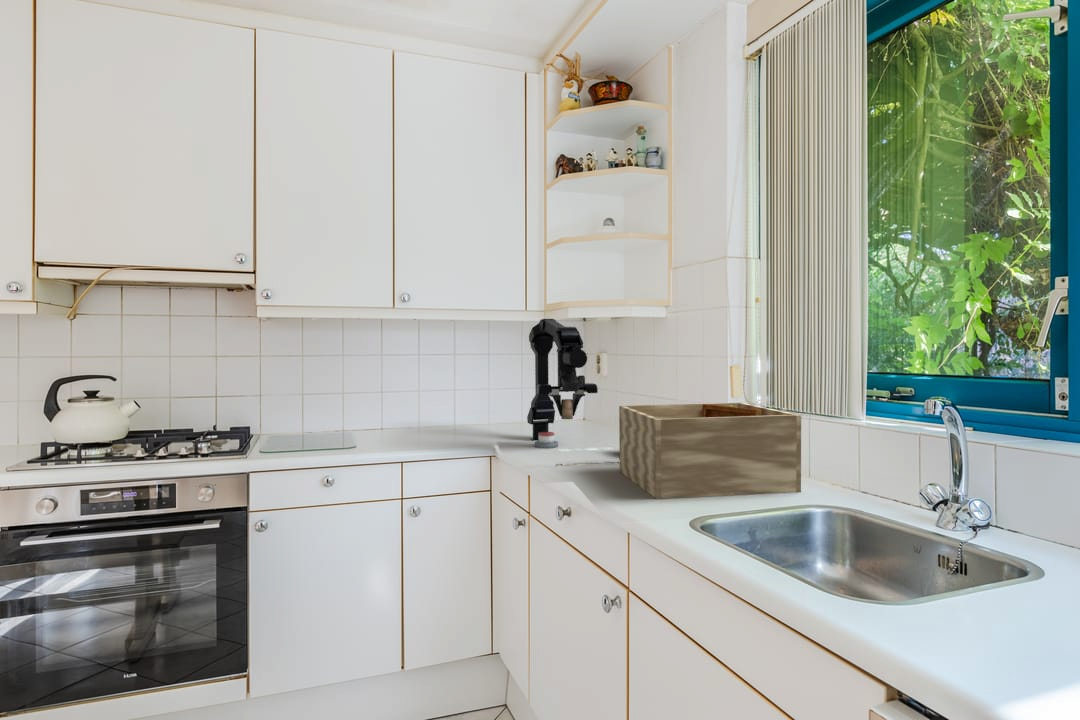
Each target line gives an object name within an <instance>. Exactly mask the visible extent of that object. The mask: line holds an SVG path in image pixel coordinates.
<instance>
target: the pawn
mask: <svg viewBox="0 0 1080 720" xmlns="http://www.w3.org/2000/svg"><path fill="white" fill-rule="evenodd" d="M561 407H562V416H560V417H561V420H573V418H574V416H573V398H566V399H565V398H564V399H561Z"/></svg>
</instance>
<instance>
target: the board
mask: <svg viewBox="0 0 1080 720" xmlns="http://www.w3.org/2000/svg"><path fill="white" fill-rule="evenodd" d="M534 447H535V448H537V449H554V448H555V449H557V451H559V452H561V453H562V452H583V451H585V452H586V451H607V450H608V451H610V450H611V451H612V450H614V448H613V447H610V446H607V447H601V446H600V447H585V448H584V447H583V448H582V447H580V448H579V447H578V448H577V447H576V448H575V447H574V448H558V447H559V442H558V440H557V441H556V440H554V443H547V444H545V443H539V441H534Z"/></svg>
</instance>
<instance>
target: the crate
mask: <svg viewBox="0 0 1080 720" xmlns="http://www.w3.org/2000/svg"><path fill="white" fill-rule="evenodd" d="M703 404H704V403H682V404H681V403H676V404H645V405H644V404H641V405H640V404H639V405H637V404H636V405H633V404H632V405H619V409H618V412H619V413H618V415H619V417H618V420H619V421H618V422H619V423H618V424H619V426H618V427H619V430H618V431H619V432H618V433H619V434H618V435H619V437H618V438H619V444H618V445H619V472H620V473H621V474H622V475H624V476H625V477H626V478H628V479H629V480H630V479H631V480H630V481H632V482H633V483H634V482H635V483H634V484H636V485H637V486H638V485H639V486H638V487H639V488H641V489H642V488H643V489H642V490H644V491H645V490H646V491H647V492H646V491H645V492H646V493H648V494H649V495H650V494H651V495H652V496H651V495H650V496H651V497H653V498H654V497H655V498H656V500H658V499H657V498H663V500H665V499H664V498H668V499H685V498H703V497H706V498H708V497H721V496H722V497H723V496H725V497H726V496H732V495H731V494H732V493H733V496H741V495H742V496H743V495H746V496H747V495H759V494H761V495H762V494H779V493H780V494H781V493H800V492H802V414H797V413H792V412H788V411H782V410H777V409H773V408H770V407H769V408H768V407H763V406H759V405H755V404H749V403H746V402H715V403H713V402H712V403H709V402H707V403H706V404H708V405H718V406H727V405H732V407H738V408H748V409H758V410H761V416H737V417H705V418H701V417H702V408H703ZM655 498H654V499H655Z"/></svg>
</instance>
